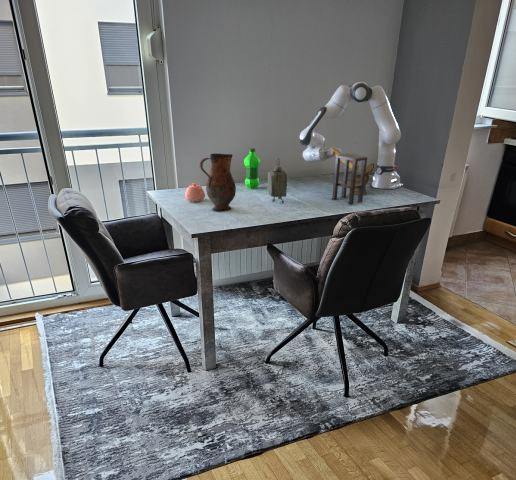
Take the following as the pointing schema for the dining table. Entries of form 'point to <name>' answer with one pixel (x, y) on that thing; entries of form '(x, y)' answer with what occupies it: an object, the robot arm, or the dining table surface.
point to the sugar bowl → (194, 193)
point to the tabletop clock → (277, 183)
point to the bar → (342, 159)
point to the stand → (353, 177)
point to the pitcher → (220, 181)
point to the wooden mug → (365, 179)
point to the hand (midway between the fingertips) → (336, 152)
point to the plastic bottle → (252, 169)
